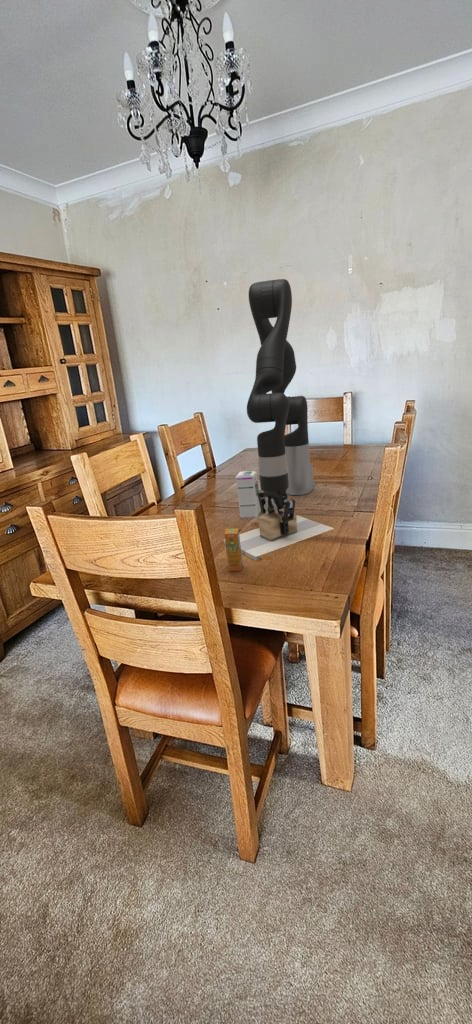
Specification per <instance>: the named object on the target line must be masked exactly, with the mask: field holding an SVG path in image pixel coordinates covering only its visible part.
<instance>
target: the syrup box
mask: <svg viewBox="0 0 472 1024" xmlns="http://www.w3.org/2000/svg"><path fill="white" fill-rule="evenodd" d="M235 484H236V491H237V501H238V507H239V516H240V519H241V518H242V519H243V518H245V519H246V518H258V517H260V515H261V514H262V512H261V508H260V503H259V499H258V493H260V490H259V489H260V487H259V479H258V471H257V470H244V471H239V472H238V474H236V475H235Z"/></svg>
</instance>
